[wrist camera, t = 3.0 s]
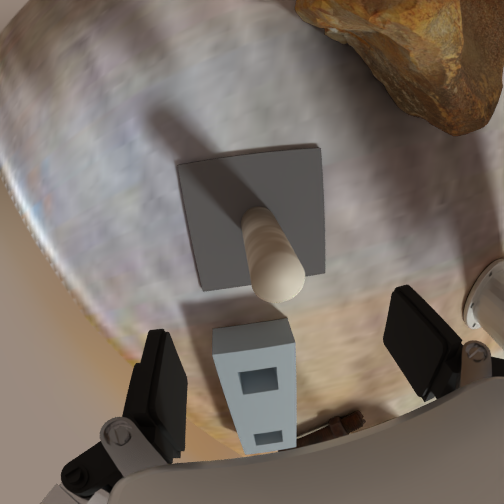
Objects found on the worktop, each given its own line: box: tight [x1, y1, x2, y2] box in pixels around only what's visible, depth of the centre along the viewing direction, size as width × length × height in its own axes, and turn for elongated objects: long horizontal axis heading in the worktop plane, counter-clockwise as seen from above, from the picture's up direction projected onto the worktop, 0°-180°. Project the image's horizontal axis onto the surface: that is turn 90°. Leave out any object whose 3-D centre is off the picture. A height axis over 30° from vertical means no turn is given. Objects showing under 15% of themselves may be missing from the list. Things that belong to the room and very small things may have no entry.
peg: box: [241, 206, 305, 303], centre depth 20 cm, size 3×3×10 cm
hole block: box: [212, 318, 296, 455], centre depth 33 cm, size 24×8×4 cm, turn 7°
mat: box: [178, 148, 325, 292], centre depth 25 cm, size 12×12×1 cm
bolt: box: [278, 411, 366, 452], centre depth 39 cm, size 6×5×15 cm
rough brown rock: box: [295, 0, 504, 136], centre depth 13 cm, size 23×17×15 cm
